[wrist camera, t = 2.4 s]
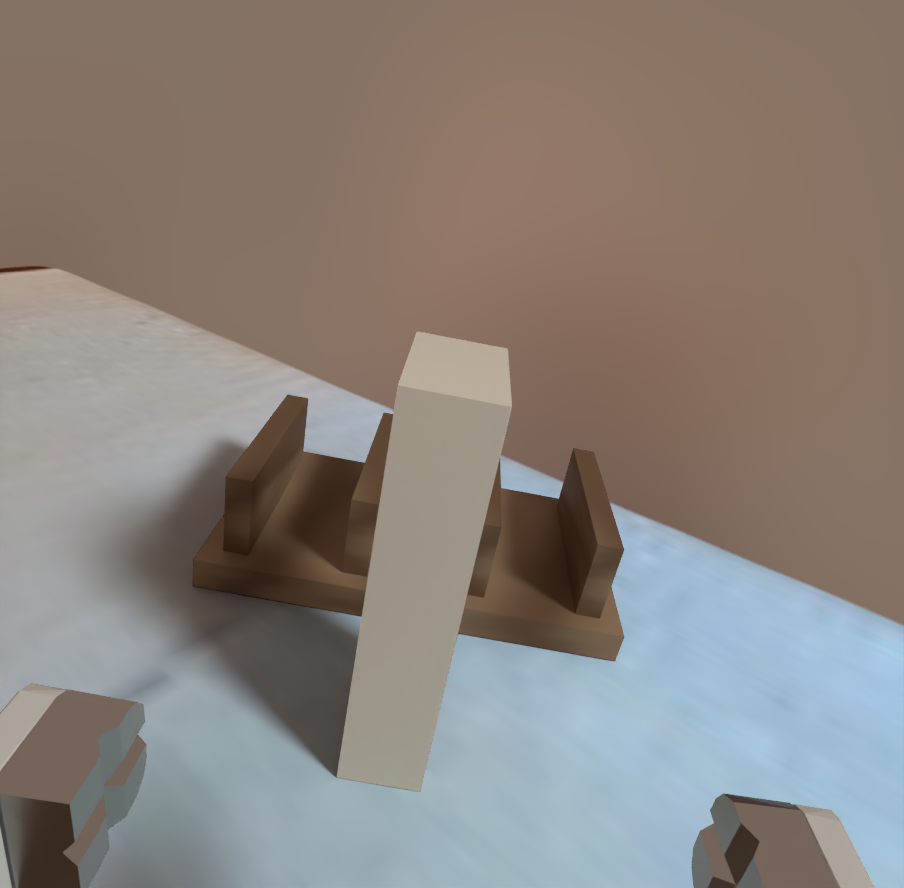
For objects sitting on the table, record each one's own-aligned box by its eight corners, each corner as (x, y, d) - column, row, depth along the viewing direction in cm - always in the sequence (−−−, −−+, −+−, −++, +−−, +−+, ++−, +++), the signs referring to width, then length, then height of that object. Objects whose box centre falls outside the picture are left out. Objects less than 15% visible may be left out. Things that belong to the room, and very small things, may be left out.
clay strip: (336, 777, 24) (398, 385, 17) (361, 673, 28) (416, 331, 22) (420, 791, 24) (511, 406, 18) (431, 686, 29) (507, 348, 22)
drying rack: (192, 585, 31) (194, 483, 29) (269, 467, 42) (275, 385, 40) (615, 661, 32) (650, 566, 30) (583, 524, 43) (607, 447, 40)
